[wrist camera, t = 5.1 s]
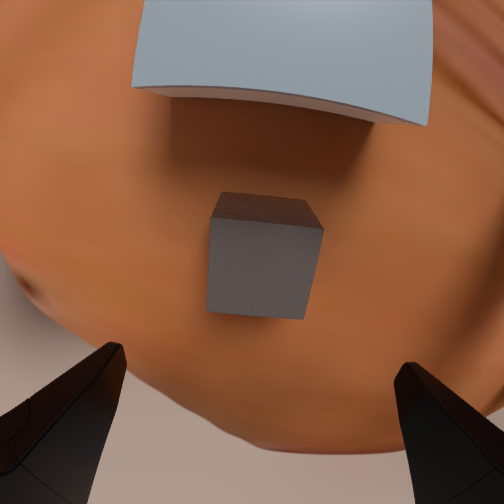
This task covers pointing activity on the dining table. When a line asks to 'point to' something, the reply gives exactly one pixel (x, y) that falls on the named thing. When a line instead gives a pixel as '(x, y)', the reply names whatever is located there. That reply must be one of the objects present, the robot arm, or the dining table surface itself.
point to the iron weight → (262, 256)
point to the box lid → (294, 50)
